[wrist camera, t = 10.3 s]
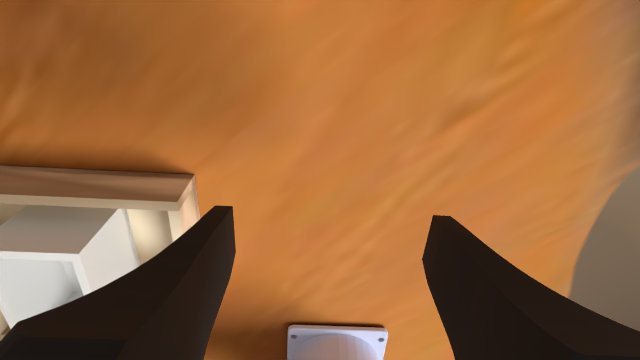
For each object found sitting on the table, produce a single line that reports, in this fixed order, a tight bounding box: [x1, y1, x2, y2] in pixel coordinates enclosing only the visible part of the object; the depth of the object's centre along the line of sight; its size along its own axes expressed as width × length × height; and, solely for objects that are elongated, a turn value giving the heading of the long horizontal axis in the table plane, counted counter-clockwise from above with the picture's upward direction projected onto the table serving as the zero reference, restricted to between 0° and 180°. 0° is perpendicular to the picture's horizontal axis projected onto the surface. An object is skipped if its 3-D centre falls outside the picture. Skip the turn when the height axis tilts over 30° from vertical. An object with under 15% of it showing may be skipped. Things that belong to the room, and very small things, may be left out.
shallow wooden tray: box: [0, 165, 200, 340], centre depth 24 cm, size 12×14×3 cm
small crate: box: [0, 205, 140, 329], centre depth 22 cm, size 8×5×5 cm
